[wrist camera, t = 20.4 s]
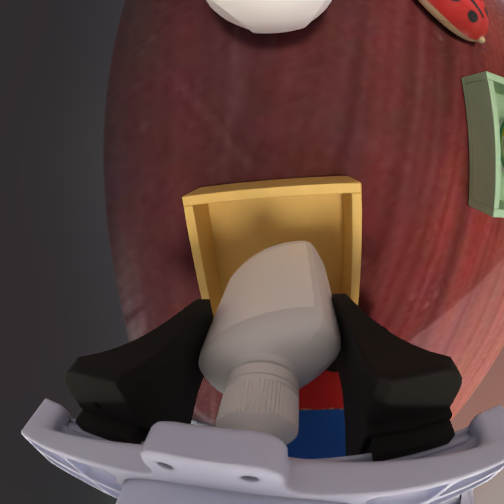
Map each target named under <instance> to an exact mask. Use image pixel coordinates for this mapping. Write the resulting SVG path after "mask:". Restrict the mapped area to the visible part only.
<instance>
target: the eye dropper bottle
mask: <svg viewBox="0 0 504 504" xmlns="http://www.w3.org/2000/svg"><path fill="white" fill-rule="evenodd" d="M340 350H341V337H340V331H339V325H338V321H337V317H336V313H335V309H334V305H333V301H332V294H331V290H330V286H329V282H328V278H327V274H326V270H325V266H324V264H323V262H322V260H321V258H320V256H319V254H318V252H317V251H316V249H315V247H314V246H313V245H312V244H311V243H310V242H307V241H292V242H286V243H281V244H278V245H275V246H272V247H269V248H267V249H265V250H262V251H261V252H259V253H257V254H255V255H254V256H252V257H251V258H250V259H248V260H247V261H246V262H245V263H243V264H242V265H241V266H240V267H239V268H238V269H237V271H236V272H235V273H234V274H233V276H232V277H231V278H230V280H229V282H228V285H227V287H226V289H225V292H224V294H223V297H222V299H221V301H220V304H219V306H218V309H217V311H216V313H215V316H214V318H213V321H212V323H211V326H210V328H209V331H208V333H207V336H206V338H205V341H204V344H203V346H202V349H201V352H200V356H199V361H198V365H199V368H200V370H201V373H202V374H203V375H204V377H205V378H206V379H207V380H208V381H209V383H210V384H211V385H212V386H213V387H215V388H216V389H217V390H218V391H220V392H221V393H223V397H222V400H221V404H220V408H219V412H218V415H217V419H216V427H220V428H232V429H248V430H255V431H261V432H267V433H269V434H271V435H274V436H276V437H278V438H280V439H282V440H283V442H284V443H285V445H287V444H289V443H290V442H292V441H293V440H294V439H295V438H296V437H297V435H298V427H299V389H300V388H302V387H303V386H305V385H307V384H308V383H310V382H311V381H312V380H314V379H315V378H316V377H318V376H319V375H320V374H321V373H322V372H323V371H324V370H326V369H327V368H328V367H329V366H330V365H331V364H332V362H333V361H334V360H335V359H336V358H337V356H338V354H339V352H340Z"/></svg>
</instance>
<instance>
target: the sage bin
mask: <svg viewBox="0 0 504 504" xmlns="http://www.w3.org/2000/svg"><path fill="white" fill-rule="evenodd" d="M461 79H462V85H463V91H464V97H465V105H466V113H467V123H468V136H469V162H470V176H469V202H468V205H469V206H471V207H473V208H475V209H477V210H479V211H482V212H484V213H486V214H488V215H490V216H492V217H504V172H503V171H502V169H501V146H500V129H499V122H500V120H501V119H503V118H504V78H503V77H501V76H498V75H496V74H493V73H490V72H487V71H485V72H481V73H477V74H473V75H470V76H466V77H462V78H461Z"/></svg>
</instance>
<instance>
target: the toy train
mask: <svg viewBox="0 0 504 504" xmlns="http://www.w3.org/2000/svg"><path fill="white" fill-rule="evenodd" d="M382 327H383V326H382ZM383 328H384V329H386V328H385V327H383ZM386 330H387V329H386ZM387 331H388V330H387ZM286 446H287V448H288V457H293V458H302V459H321V458H333V457H343V456H346V443H345V418H344V404H343V393H342V387H341V382H340V378H339V373H338V369H337V365H336V360H334V361H333V362H332V364H331V365H330V366H329V367H328V368H327V369H326V370H324V371H323V372H322V373H321V374H320V375H319V376H318V377H316V378H315V379H314V380H312V381H311V382H310V383H308V384H307V385H305V386H303V387H302V388H300V389H299V427H298V435H297V437H296V438H295V439H294V440H293V441H292V442H290V443H289V444H287V445H286Z"/></svg>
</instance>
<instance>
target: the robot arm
mask: <svg viewBox="0 0 504 504" xmlns="http://www.w3.org/2000/svg"><path fill="white" fill-rule="evenodd" d="M332 301H333V305H334V309H335V313H336V317H337V321H338V325H339V331H340V337H341V350H340V352H339V354H338V356H337V358H336V359H335V360H336V365H337V369H338V373H339V378H340V382H341V387H342V393H343V404H344V418H345V443H346V456H343V457H333V458H321V459H302V458H293V457H288V448H287V446H286V445H285V443H284V442H283V440H282V439H280V438H278V437H276V436H274V435H271V434H269V433H267V432H261V431H255V430H248V429H232V428H220V427H210V426H202V425H194V424H191V420H192V415H193V411H194V406H195V402H196V398H197V394H198V391H199V388H200V385H201V382H202V380H203V377H204V375H203V374H202V373H201V370H200V368H199V365H198V361H199V356H200V352H201V349H202V346H203V344H204V341H205V338H206V336H207V333H208V331H209V328H210V326H211V323H212V321H213V318H214V317H213V312H212V307H211V303H210V299H197V300H196V301H194V302H192V303H191V304H190V305H188V306H187V307H186V308H184V309H183V310H182V311H180V312H179V313H178V314H176V315H175V316H174V317H172V318H171V319H169V320H168V321H167V322H165V323H164V324H162V325H161V326H159V327H158V328H156V329H154V330H153V331H151V332H149V333H148V334H146V335H144V336H142V337H140V338H138V339H136V340H134V341H132V342H129V343H127V344H125V345H122V346H120V347H117V348H114V349H111V350H108V351H104V352H101V353H97V354H92V355H88V356H83V357H78V359H77V360H76V361H75V362H74V364H73V365H72V366H71V367H70V369H69V370H68V371H67V372H66V374H65V376H64V380H65V383H66V386H67V388H68V389H69V391H70V393H71V394H72V395H73V397H74V398H75V400H76V401H77V403H78V404H79V405H80V407H81V408H82V409H83V410H82V412H81V413H80V415H79V416H78V418H77V419H74V418H72V417H71V415H70V414H69V412H68V411H67V410H66V409H65V408H64V407H63V406H61V405H60V404H57V403H55V402H53V401H51V400H49V399H45V400H44V401H43V403H42V404H41V405H40V406H39V408H38V409H37V411H36V412H35V413H34V414H33V416H32V417H31V419H30V420H29V421H28V423H27V424H26V426H25V427H24V428H23V430H22V431H21V434H22V435H23V436H24V437H25V438H26V439H27V440H28V441H29V442H30V443H31V444H32V445H33V446H34V447H35V448H36V449H37V450H38V451H39V452H40V453H41V454H42V455H43V456H45V457H46V458H47V459H48V460H49V461H50V462H51V463H53V464H55V465H56V466H58V467H59V468H61V469H63V470H64V471H66V472H68V473H69V474H71V475H73V476H75V477H76V478H78V479H80V480H82V481H84V482H86V483H87V484H89V485H91V486H93V487H95V488H97V489H99V490H101V491H102V492H104V493H107V494H109V495H111V496H113V497H115V498H118V500H117V502H116V504H475V502H474V497H473V488H475V487H477V486H479V485H481V484H483V483H485V482H487V481H489V480H490V479H491V478H492V477H494V476H495V475H496V474H497V473H498V472H499V471H501V470H502V469H503V468H504V409H503V407H502V405H501V404H499V405H497V406H495V407H492V408H490V409H488V410H486V411H483V412H481V413H479V414H478V415H477V416H476V417H474V419H473V420H472V421H471V423H470V425H469V427H466V428H464V429H461V430H458V431H455V432H454V430H453V427H452V424H451V422H450V419H451V417H452V412H451V410H450V408H449V407H450V406H451V404H452V402H453V401H454V399H455V397H456V395H457V393H458V391H459V389H460V387H461V384H462V377H461V375H460V373H459V371H458V369H457V367H456V365H455V364H454V362H453V360H452V359H451V357H448V356H445V355H441V354H437V353H433V352H430V351H427V350H425V349H422V348H419V347H417V346H415V345H412V344H410V343H408V342H406V341H404V340H402V339H400V338H399V337H397V336H395V335H393V334H392V333H390V332H389V331H387V330H386V329H384V328H383V327H382V326H380V325H379V324H378V323H376V322H375V321H374V320H373V319H371V318H370V317H369V316H368V315H367V314H366V313H365V312H364V311H363V310H362V309H361V308H360V307H359V306H358V305H357V304H356V303H355V302H354V301H353V300H352V299H351V298H350V297H349V296H348V295H347V294H346V293H342V294H332Z"/></svg>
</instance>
